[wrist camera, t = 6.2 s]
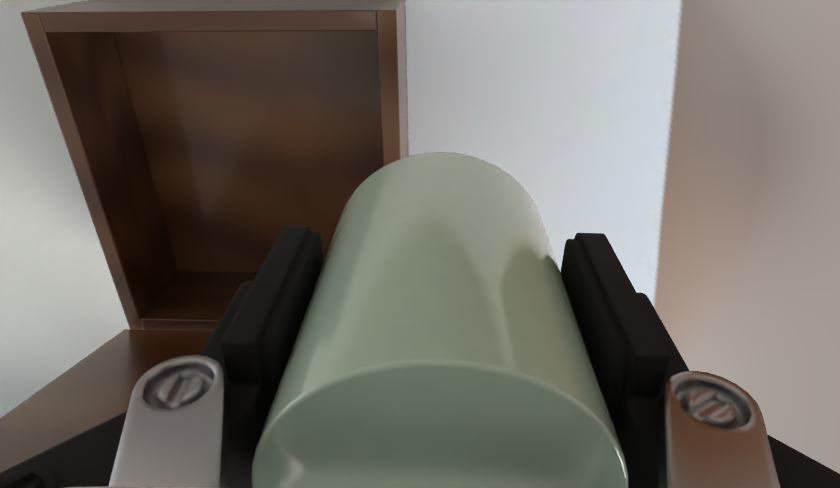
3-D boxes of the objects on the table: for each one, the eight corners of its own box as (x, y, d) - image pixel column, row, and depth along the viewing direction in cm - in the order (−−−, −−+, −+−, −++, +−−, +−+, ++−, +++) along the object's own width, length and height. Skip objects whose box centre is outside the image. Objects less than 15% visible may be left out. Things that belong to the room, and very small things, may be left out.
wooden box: (97, -2, 27) (19, 12, 22) (405, -4, 27) (396, 10, 22) (174, 274, 36) (129, 330, 30) (411, 277, 35) (405, 334, 30)
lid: (-280, 616, 13) (-270, 642, 13) (356, 640, 13) (357, 667, 13) (124, 328, 30) (126, 342, 30) (405, 333, 29) (405, 346, 30)
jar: (294, 214, 13) (168, 451, 7) (485, 109, 12) (529, 295, 6) (405, 357, 15) (380, 633, 9) (577, 283, 14) (682, 553, 8)
